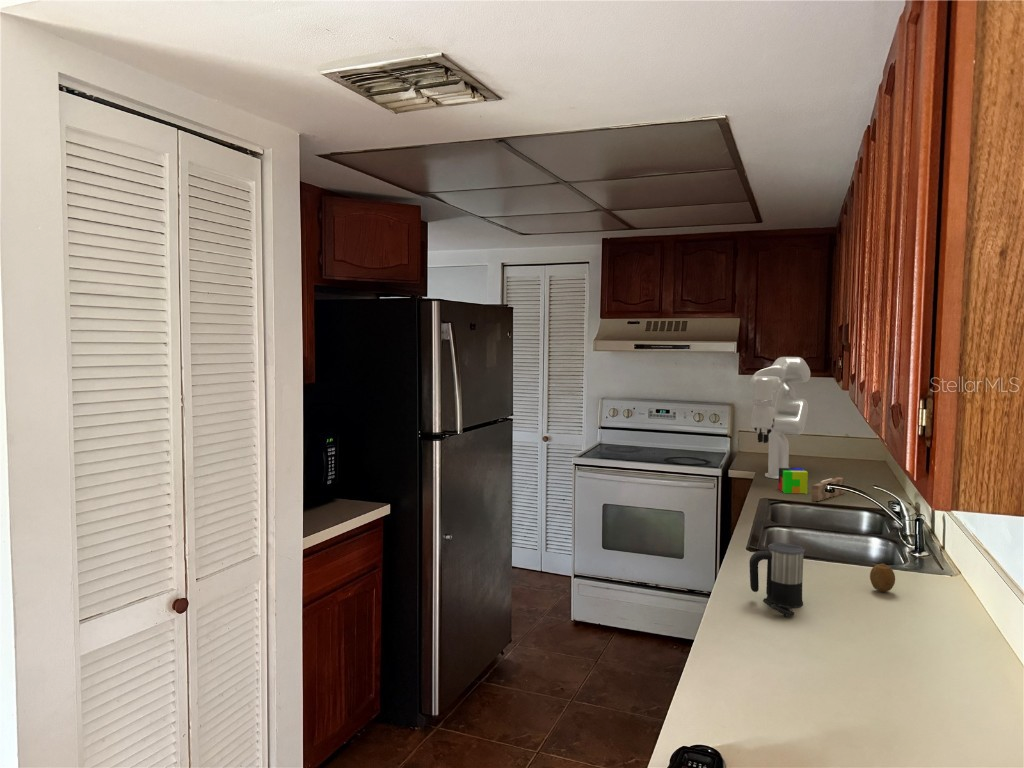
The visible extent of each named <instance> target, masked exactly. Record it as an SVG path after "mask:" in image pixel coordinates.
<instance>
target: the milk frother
mask: <svg viewBox="0 0 1024 768" xmlns="http://www.w3.org/2000/svg"><path fill="white" fill-rule="evenodd" d="M767 547H768V549H769V550H758V551H755V552H754V553H752V555H751V556H750V558H749V562H748V563H749V582H750V583H749V584H750V585H749V586H750V590H751V591H752V592H754V593H758V592H759V588H760V586H759V584H760V583H759V564H760V562H761V561H763V560H765V561H766V560H767V564H766V565H767V567H766V587H765V589H766V590H765V593H766V598H763V600H762V602H763V603H764V604H765V605H766V606H768V607H770V608H771V609H774V610H775V611H777V612H778V613H780V615H781V614H782V615H783V616H784V617H787V616H794V615H795V610H793V608H800V607H802V606H803V605H804V601H803V577H804V575H803V574H804V552H805V551H806V549H805V548H804V547H802V546H801V545H800V546H799V545H797V544H792V543H784V542H776V543H775V542H773V543H770V544H768V545H767Z"/></svg>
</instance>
